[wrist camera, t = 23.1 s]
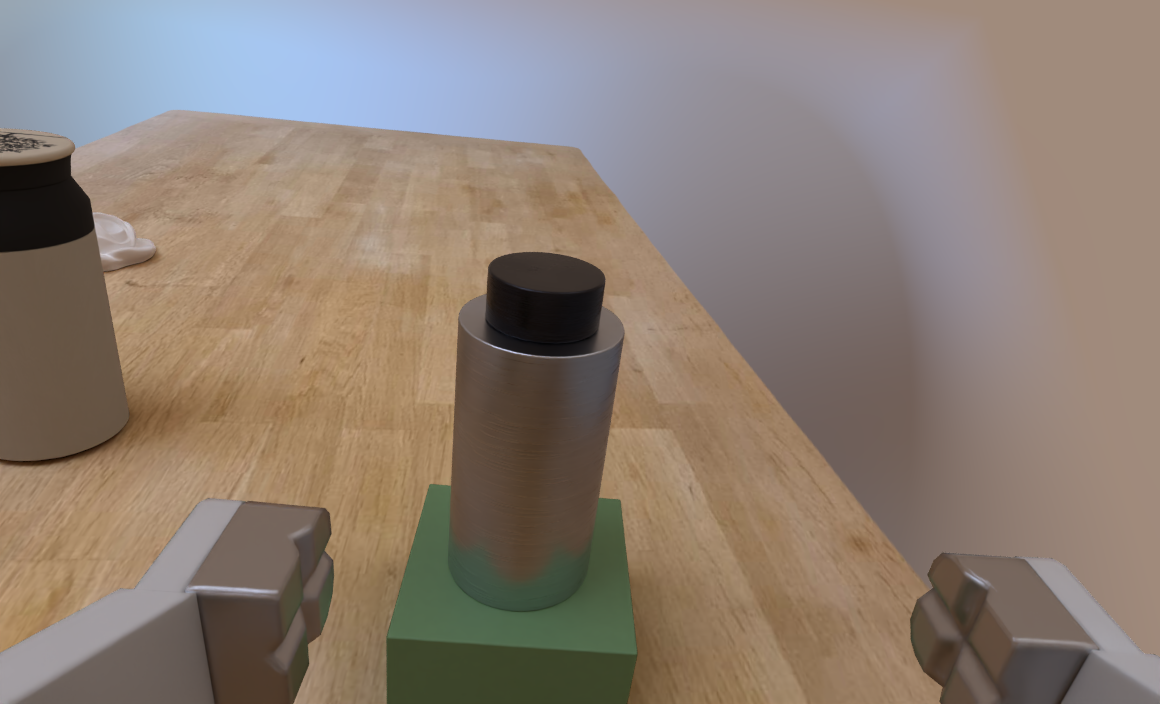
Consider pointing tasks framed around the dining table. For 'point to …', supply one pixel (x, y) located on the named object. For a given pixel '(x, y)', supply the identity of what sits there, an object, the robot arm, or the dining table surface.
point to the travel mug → (52, 308)
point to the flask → (530, 429)
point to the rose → (120, 243)
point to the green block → (510, 629)
